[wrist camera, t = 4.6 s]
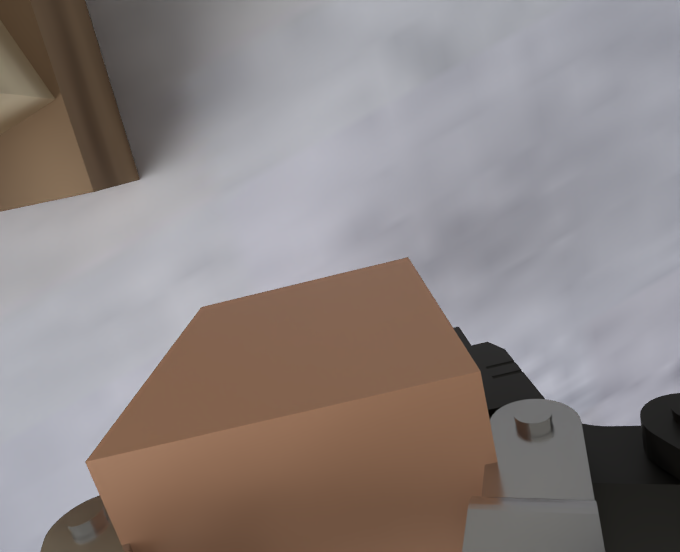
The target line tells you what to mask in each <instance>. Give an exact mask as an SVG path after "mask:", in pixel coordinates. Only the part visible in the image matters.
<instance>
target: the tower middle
mask: <svg viewBox="0 0 680 552" xmlns="http://www.w3.org/2000/svg"><path fill="white" fill-rule="evenodd" d="M54 100H55V98H54V96H53V95H52V94H51V92H50V91H49V89H48V88H47V86H46V85H45V83H44V82H43V81H42V79H41V78H40V76H39V75H38V73H37V72H36V71H35V69H34V68H33V66H32V65H31V63H30V62H29V60H28V59H27V58H26V56H25V55H24V53H23V52H22V50H21V49H20V48H19V46H18V45H17V43H16V42H15V40H14V39H13V37H12V36H11V35H10V33H9V32H8V30H7V29H6V27H5V26H4V25H3V23H2V22H1V20H0V135H1V134H3V133H4V132H6V131H7V130H9V129H10V128H12V127H13V126H15V125H17V124H18V123H20V122H21V121H23V120H24V119H26V118H27V117H29V116H30V115H32V114H34V113H35V112H37V111H38V110H40V109H41V108H43V107H44V106H46V105H47V104H49V103H51V102H52V101H54Z"/></svg>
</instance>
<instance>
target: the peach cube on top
mask: <svg viewBox="0 0 680 552" xmlns="http://www.w3.org/2000/svg"><path fill="white" fill-rule="evenodd" d="M495 462H498V461H497V456H496V451H495V445H494V440H493V435H492V429H491V424H490V419H489V414H488V408H487V403H486V398H485V392H484V387H483V382H482V376H481V371H480V370H479V368H478V366H477V365H476V363H475V362H474V360H473V359H472V357H471V355H470V354H469V352H468V351H467V349H466V348H465V346H464V344H463V343H462V341H461V340H460V338H459V337H458V335H457V333H456V332H455V330H454V329H453V327H452V326H451V324H450V322H449V321H448V319H447V318H446V316H445V315H444V313H443V311H442V310H441V308H440V307H439V305H438V304H437V302H436V300H435V299H434V297H433V296H432V294H431V293H430V291H429V289H428V288H427V286H426V285H425V283H424V282H423V280H422V278H421V277H420V275H419V274H418V272H417V271H416V269H415V267H414V266H413V264H412V263H411V261H410V260H409V258H408V257H407V258H403V259H399V260H395V261H391V262H386V263H382V264H378V265H374V266H370V267H366V268H362V269H357V270H353V271H349V272H345V273H341V274H337V275H333V276H328V277H324V278H320V279H316V280H312V281H308V282H304V283H299V284H295V285H291V286H287V287H283V288H279V289H275V290H270V291H266V292H262V293H258V294H254V295H250V296H246V297H242V298H237V299H233V300H229V301H225V302H221V303H217V304H213V305H208V306H204V307H201V308H200V310H199V311H198V312H197V314H196V315H195V316H194V318H193V319H192V320H191V322H190V323H189V324H188V326H187V327H186V328H185V330H184V331H183V332H182V334H181V335H180V336H179V338H178V339H177V340H176V342H175V343H174V344H173V346H172V347H171V348H170V350H169V351H168V352H167V354H166V355H165V356H164V358H163V359H162V360H161V362H160V363H159V364H158V366H157V367H156V368H155V370H154V371H153V372H152V374H151V375H150V376H149V378H148V379H147V380H146V382H145V383H144V384H143V386H142V387H141V388H140V390H139V391H138V392H137V394H136V395H135V396H134V398H133V399H132V400H131V402H130V403H129V404H128V406H127V407H126V408H125V410H124V411H123V412H122V414H121V415H120V416H119V418H118V419H117V420H116V422H115V423H114V424H113V426H112V427H111V428H110V430H109V431H108V432H107V434H106V435H105V436H104V438H103V439H102V440H101V442H100V443H99V444H98V446H97V447H96V449H95V450H94V451H93V453H92V454H91V455H90V457H89V458H88V459H87V461H86V464H87V467H88V469H89V471H90V474H91V476H92V478H93V481H94V483H95V485H96V487H97V490H98V492H99V494H100V497H101V499H102V501H103V504H104V506H105V508H106V510H107V513H108V515H109V517H110V520H111V522H112V524H113V527H114V529H115V531H116V534H117V536H118V538H119V540H120V543H121V545H124V544H129V543H130V546H131V548H132V550H133V552H462V548H463V541H464V533H465V526H466V518H467V511H468V505H469V501H470V498H471V497H472V496H482V487H483V477H484V468H485V465H486V464H491V463H495Z"/></svg>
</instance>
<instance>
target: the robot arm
mask: <svg viewBox="0 0 680 552" xmlns="http://www.w3.org/2000/svg"><path fill="white" fill-rule="evenodd" d="M453 329H454V330H455V332H456V333H457V335H458V337H459V338H460V340H461V341H462V343H463V344H464V346H465V348H466V349H467V351H468V352H469V354H470V355H471V357H472V359H473V360H474V362H475V363H476V365H477V366H478V368H479V370H480V371H481V376H482V382H483V387H484V392H485V398H486V403H487V408H488V414H489V419H490V424H491V429H492V435H493V440H494V445H495V451H496V456H497V461H498V462H495V463H491V464H486V465H485V468H484V477H483V487H482V496H472V497H471V498H470V501H469V505H468V511H467V518H466V526H465V533H464V541H463V548H462V552H680V393H677V394H669V395H664V396H661V397H658V398H655V399H653V400H651V401H649V402H648V403H647V404H645V406H644V407H643V408H642V410H641V414H640V418H641V426H593V425H587V424H582V422H581V419H580V416H579V415H578V413H577V412H576V411H575V410H574V409H572V408H571V407H569V406H567V405H565V404H563V403H560V402H557V401H553V400H547V399H545V398H544V397H543V396H542V395H541V393H540V392H539V391H538V390H537V389H536V387H535V386H534V385H533V384H532V382H531V381H530V380H529V379H528V377H527V376H526V375H525V374H524V373H523V372H522V371H521V369H520V368H519V366H518V365H517V364H516V363H514V360H513V359H512V358H511V356H510V355H509V354H508V353H507V352H506V350H505V349H503V348H501V347H498V346H496V345H494V344H491V343H489V342H485V343H481V344H476V345H472V346H471V344H470V343H469V341H468V340H467V338H466V337H465V335H464V334H463V332H462V331H461V329H460V328H459V327H455V328H453ZM41 552H133V550H132V548H131V546H130V543H129V544H124V545H121V543H120V540H119V538H118V536H117V534H116V531H115V529H114V527H113V524H112V522H111V520H110V517H109V515H108V513H107V510H106V508H105V506H104V504H103V501H102V499H101V497H100V496H97V497H94V498H92V499H90V500H87V501H85V502H83V503H82V504H80V505H78V506H76V507H75V508H73V509H72V510H70V511H69V512H68V513H66V514H65V515H64V516H62V517H61V518H60V519H59V520H58V521H57V522H56V523H55V524H54V525H53V526H52V527H51V529H50V530H49V531H48V533H47V534H46V536H45V539H44V541H43V545H42V548H41Z"/></svg>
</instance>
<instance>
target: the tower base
mask: <svg viewBox="0 0 680 552" xmlns="http://www.w3.org/2000/svg"><path fill="white" fill-rule="evenodd" d="M0 20H1V22H2V23H3V25H4V26H5V27H6V29H7V30H8V32H9V33H10V35H11V36H12V37H13V39H14V40H15V42H16V43H17V45H18V46H19V48H20V49H21V50H22V52H23V53H24V55H25V56H26V58H27V59H28V60H29V62H30V63H31V65H32V66H33V68H34V69H35V71H36V72H37V73H38V75H39V76H40V78H41V79H42V81H43V82H44V83H45V85H46V86H47V88H48V89H49V91H50V92H51V94H52V95H53V96H54V98H55V100H54V101H52V102H51V103H49V104H47V105H46V106H44V107H43V108H41V109H40V110H38V111H37V112H35V113H34V114H32V115H30V116H29V117H27V118H26V119H24V120H23V121H21V122H20V123H18V124H17V125H15V126H13V127H12V128H10V129H9V130H7V131H6V132H4V133H3V134H1V135H0V211H5V210H10V209H15V208H19V207H24V206H29V205H34V204H38V203H43V202H48V201H53V200H57V199H62V198H67V197H72V196H76V195H81V194H86V193H91V192H95V191H99V190H103V189H106V188H110V187H114V186H117V185H121V184H125V183H128V182H132V181H136V180H139V179H140V178H139V175H138V172H137V169H136V165H135V162H134V159H133V156H132V152H131V149H130V146H129V142H128V139H127V136H126V133H125V129H124V126H123V123H122V120H121V116H120V113H119V110H118V107H117V103H116V100H115V97H114V93H113V90H112V87H111V84H110V80H109V77H108V74H107V71H106V67H105V64H104V61H103V58H102V54H101V51H100V48H99V44H98V41H97V38H96V35H95V31H94V28H93V25H92V22H91V18H90V15H89V12H88V9H87V5H86V2H85V0H0Z"/></svg>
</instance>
